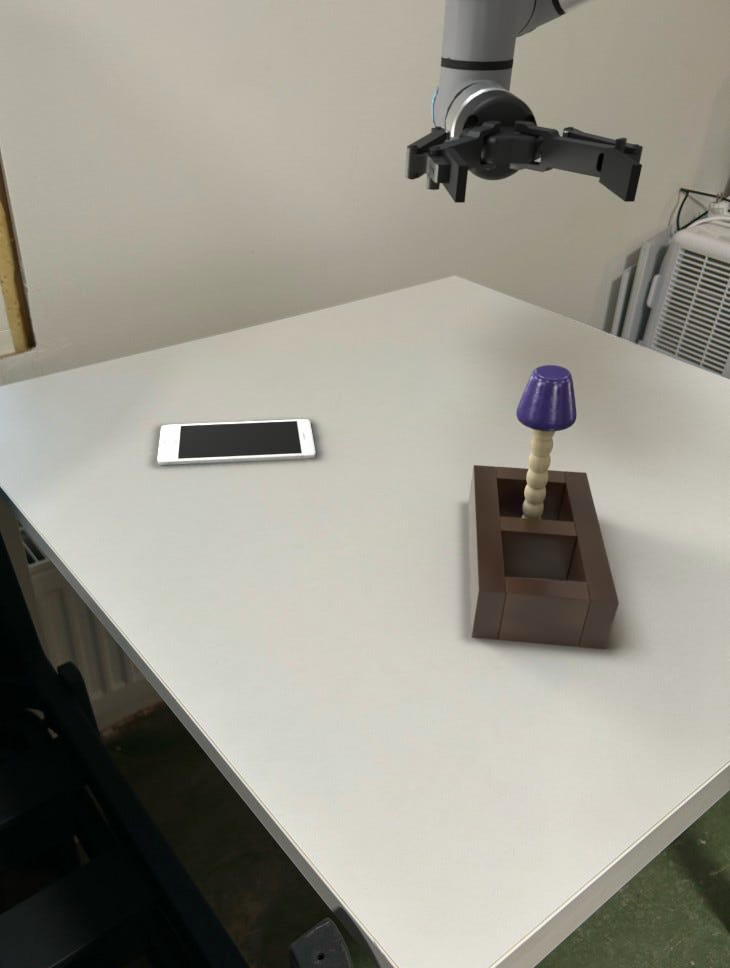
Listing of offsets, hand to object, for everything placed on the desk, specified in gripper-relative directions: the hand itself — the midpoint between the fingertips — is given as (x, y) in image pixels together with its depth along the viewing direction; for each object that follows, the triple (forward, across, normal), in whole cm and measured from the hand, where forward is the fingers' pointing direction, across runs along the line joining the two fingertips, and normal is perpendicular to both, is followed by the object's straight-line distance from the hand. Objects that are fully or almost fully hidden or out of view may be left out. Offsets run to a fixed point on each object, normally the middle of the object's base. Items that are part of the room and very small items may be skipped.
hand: (548, 184), depth 64 cm
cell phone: (-9, +26, -28) cm, 39 cm away
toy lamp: (+10, 0, -28) cm, 30 cm away
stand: (+14, +1, -28) cm, 31 cm away
